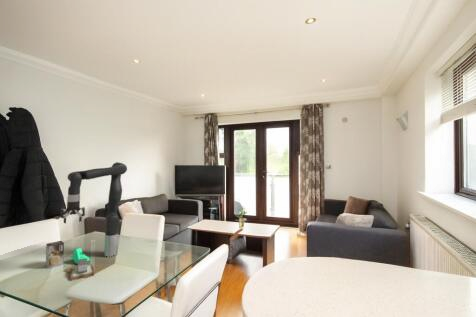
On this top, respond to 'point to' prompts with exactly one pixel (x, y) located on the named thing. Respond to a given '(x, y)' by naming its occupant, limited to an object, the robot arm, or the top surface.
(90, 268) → the walnut stand
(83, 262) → the housing
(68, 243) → the top surface
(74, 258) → the camera mount
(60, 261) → the coffee box
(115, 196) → the robot arm
